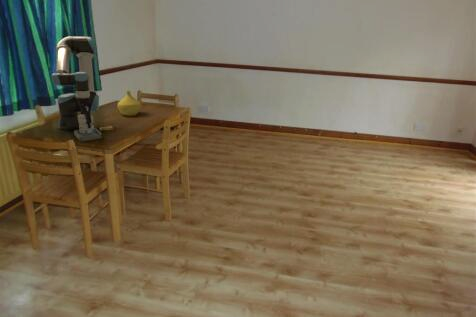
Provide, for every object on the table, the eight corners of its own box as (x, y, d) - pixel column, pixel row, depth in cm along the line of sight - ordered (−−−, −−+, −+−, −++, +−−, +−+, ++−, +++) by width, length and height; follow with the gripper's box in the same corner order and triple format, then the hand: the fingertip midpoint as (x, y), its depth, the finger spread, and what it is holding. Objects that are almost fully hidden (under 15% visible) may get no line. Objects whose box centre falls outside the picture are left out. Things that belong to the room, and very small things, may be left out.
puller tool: (101, 131, 257) (100, 128, 256) (99, 129, 259) (99, 127, 259) (112, 129, 261) (112, 127, 261) (111, 128, 264) (111, 126, 263)
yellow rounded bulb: (140, 111, 313) (139, 88, 306) (142, 116, 297) (141, 93, 290) (118, 112, 307) (116, 89, 300) (118, 117, 291) (116, 93, 284)
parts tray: (74, 134, 246) (73, 130, 245) (95, 132, 254) (95, 127, 253) (80, 141, 234) (79, 137, 233) (102, 138, 242) (102, 133, 240)
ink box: (95, 132, 243) (93, 115, 239) (89, 134, 239) (87, 117, 235) (84, 130, 246) (82, 113, 242) (79, 132, 242) (77, 115, 238)
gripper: (73, 94, 241) (77, 127, 249) (81, 100, 224) (85, 136, 232) (85, 93, 245) (89, 126, 253) (94, 99, 228) (98, 134, 236)
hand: (87, 130), depth 242 cm, fingers closed on ink box, 9 cm apart
